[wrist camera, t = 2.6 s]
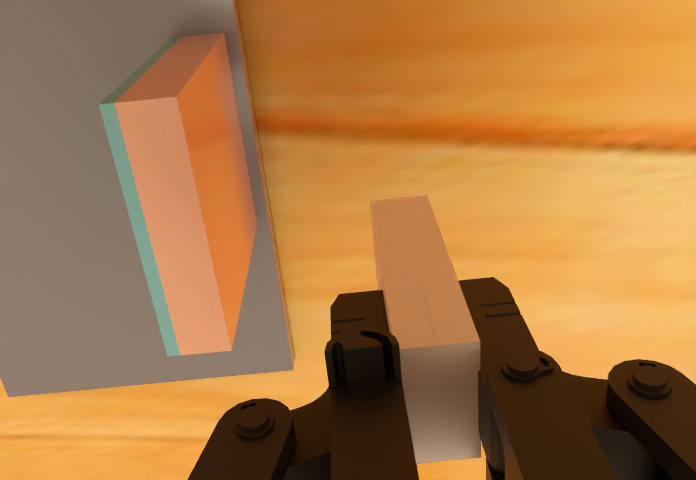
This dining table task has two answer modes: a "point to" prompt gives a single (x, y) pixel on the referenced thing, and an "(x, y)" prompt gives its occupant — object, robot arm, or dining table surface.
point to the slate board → (104, 204)
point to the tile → (186, 188)
